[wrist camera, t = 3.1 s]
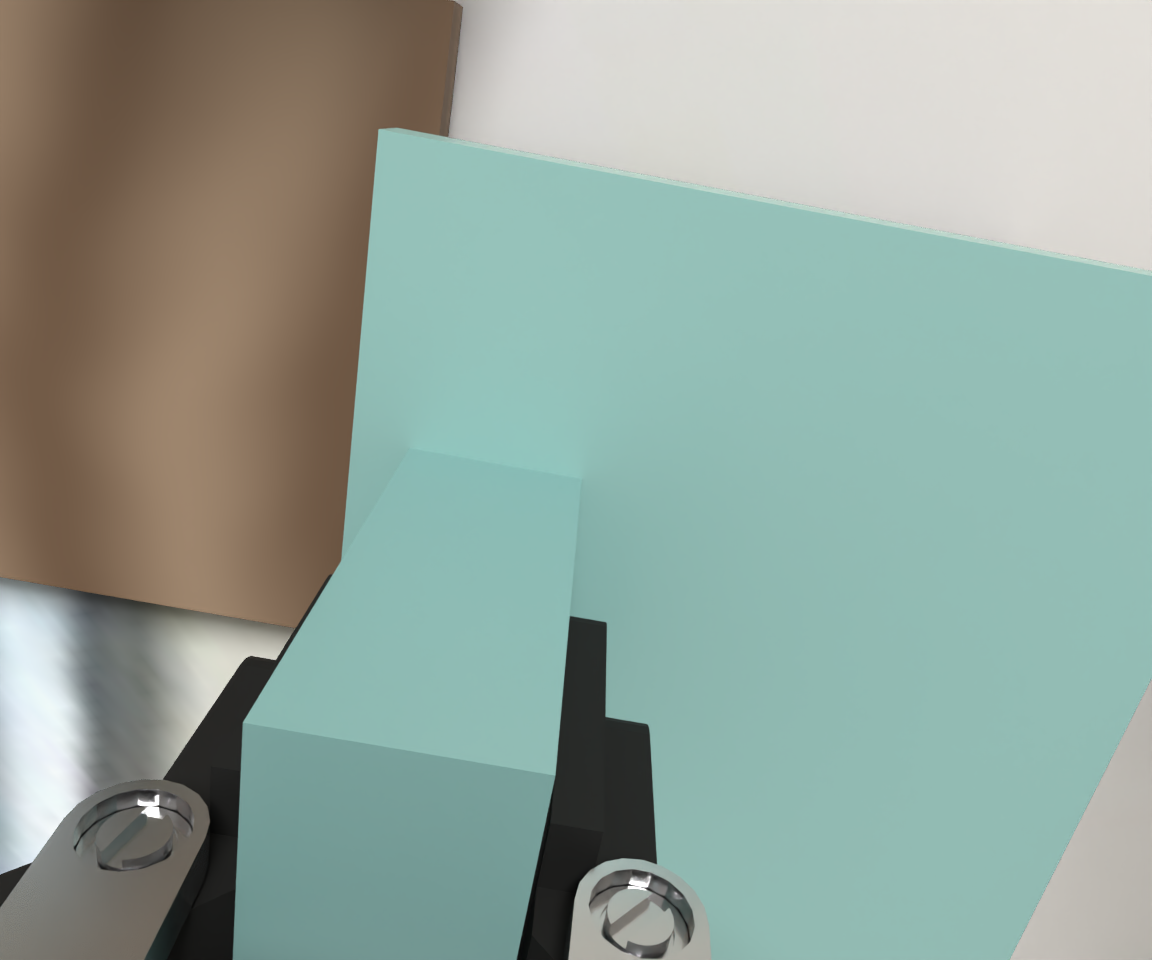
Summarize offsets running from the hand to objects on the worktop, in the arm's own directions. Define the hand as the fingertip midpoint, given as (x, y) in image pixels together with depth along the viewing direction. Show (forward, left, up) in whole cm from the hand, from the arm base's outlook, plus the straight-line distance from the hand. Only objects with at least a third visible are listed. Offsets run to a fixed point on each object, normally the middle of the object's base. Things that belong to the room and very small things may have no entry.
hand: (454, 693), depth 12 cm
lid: (-4, 0, -3) cm, 5 cm away
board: (+9, -2, -9) cm, 13 cm away
